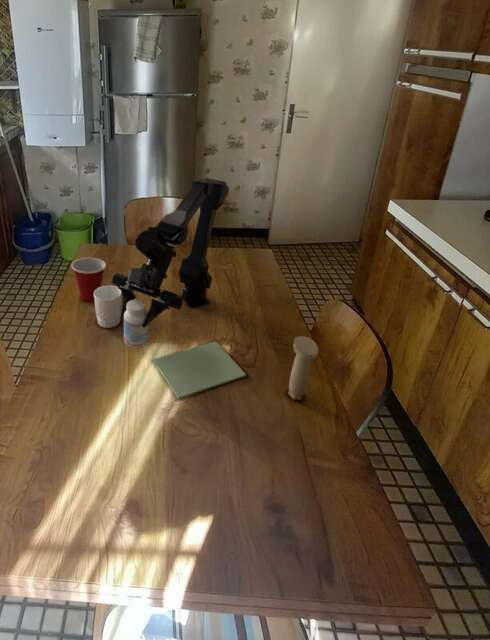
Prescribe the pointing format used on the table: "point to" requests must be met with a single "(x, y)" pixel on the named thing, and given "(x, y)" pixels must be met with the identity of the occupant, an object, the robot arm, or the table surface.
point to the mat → (198, 369)
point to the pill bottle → (135, 324)
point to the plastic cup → (88, 276)
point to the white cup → (108, 305)
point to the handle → (301, 365)
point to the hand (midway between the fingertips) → (132, 322)
